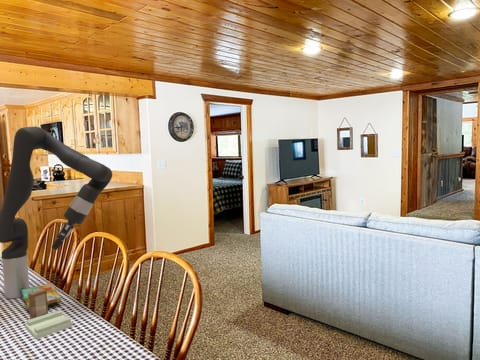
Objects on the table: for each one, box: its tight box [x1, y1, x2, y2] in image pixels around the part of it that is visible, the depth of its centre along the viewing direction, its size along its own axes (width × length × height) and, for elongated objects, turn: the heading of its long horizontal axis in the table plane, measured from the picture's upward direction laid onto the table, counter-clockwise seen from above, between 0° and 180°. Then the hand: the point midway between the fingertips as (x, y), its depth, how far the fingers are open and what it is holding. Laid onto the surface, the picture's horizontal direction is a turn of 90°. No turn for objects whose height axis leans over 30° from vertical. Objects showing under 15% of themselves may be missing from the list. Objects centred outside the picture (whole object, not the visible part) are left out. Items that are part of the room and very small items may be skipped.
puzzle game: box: [22, 282, 62, 310], centre depth 150 cm, size 12×5×20 cm
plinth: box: [24, 309, 74, 340], centre depth 128 cm, size 11×12×3 cm
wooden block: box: [28, 289, 49, 320], centre depth 135 cm, size 4×5×10 cm
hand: (56, 246), depth 139 cm, fingers open, 8 cm apart
